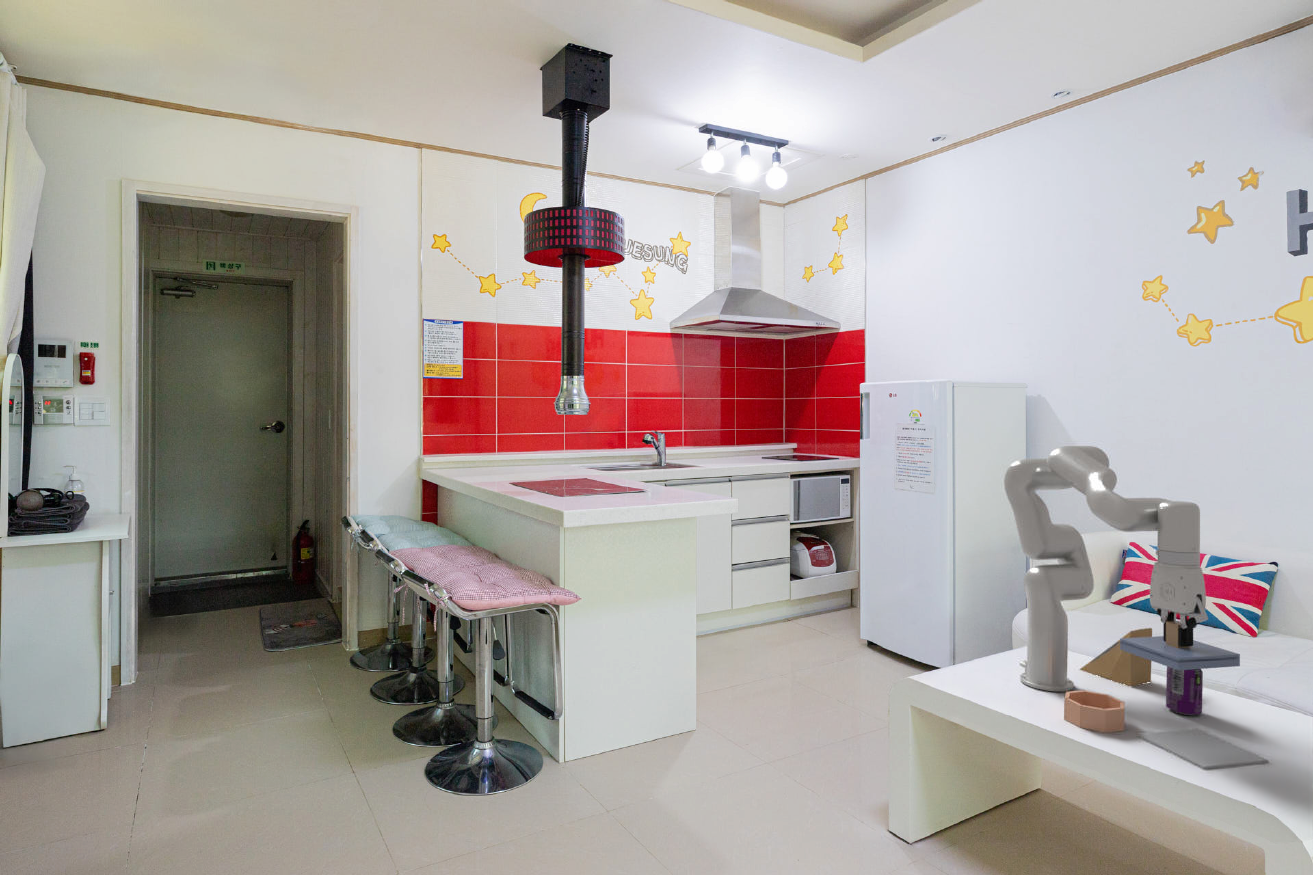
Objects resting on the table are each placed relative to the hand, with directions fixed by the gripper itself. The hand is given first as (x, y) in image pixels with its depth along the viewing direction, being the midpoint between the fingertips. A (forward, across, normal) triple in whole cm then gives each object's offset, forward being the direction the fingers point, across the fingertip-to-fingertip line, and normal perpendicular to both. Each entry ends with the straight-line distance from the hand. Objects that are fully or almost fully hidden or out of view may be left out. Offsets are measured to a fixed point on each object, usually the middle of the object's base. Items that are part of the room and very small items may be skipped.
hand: (1178, 642), depth 162 cm
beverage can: (+22, -15, +17) cm, 32 cm away
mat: (+22, +3, +2) cm, 22 cm away
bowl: (+22, -14, -9) cm, 27 cm away
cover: (+3, 0, 0) cm, 3 cm away
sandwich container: (+22, -41, +21) cm, 50 cm away
